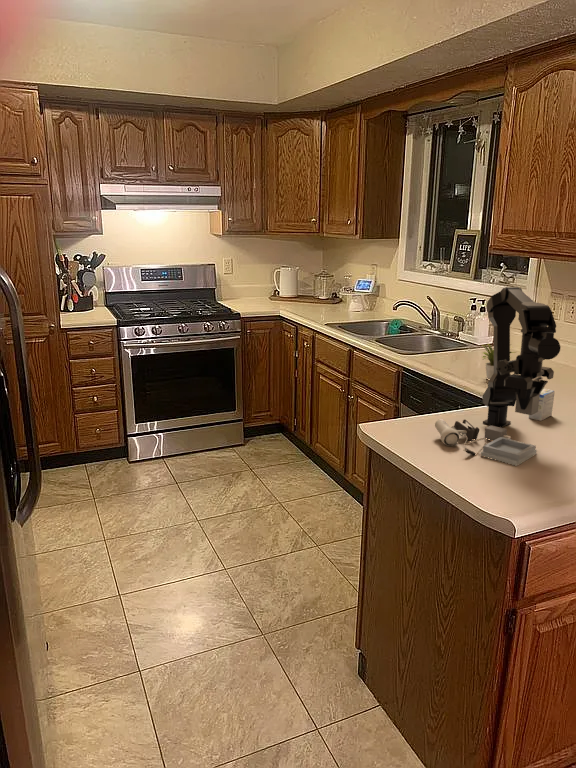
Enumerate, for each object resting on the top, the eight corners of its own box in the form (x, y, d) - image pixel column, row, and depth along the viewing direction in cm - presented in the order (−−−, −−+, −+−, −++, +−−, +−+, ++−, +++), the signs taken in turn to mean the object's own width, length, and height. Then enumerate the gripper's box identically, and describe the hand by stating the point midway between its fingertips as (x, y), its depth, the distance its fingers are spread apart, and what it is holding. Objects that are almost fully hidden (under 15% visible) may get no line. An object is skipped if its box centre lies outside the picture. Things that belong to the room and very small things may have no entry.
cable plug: (490, 436, 179) (491, 425, 178) (512, 442, 174) (513, 430, 173) (484, 439, 176) (485, 428, 175) (506, 445, 172) (507, 433, 171)
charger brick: (522, 408, 170) (523, 389, 168) (537, 411, 167) (539, 392, 165) (515, 412, 167) (516, 392, 165) (531, 415, 163) (533, 395, 162)
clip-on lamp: (492, 464, 166) (464, 429, 181) (499, 444, 163) (470, 411, 179) (453, 463, 163) (428, 428, 179) (459, 444, 161) (433, 410, 176)
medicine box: (538, 413, 200) (541, 387, 198) (552, 415, 197) (555, 390, 195) (528, 418, 195) (530, 392, 193) (541, 421, 192) (544, 395, 190)
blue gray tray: (501, 444, 171) (502, 435, 171) (536, 453, 165) (537, 444, 164) (480, 456, 163) (481, 446, 163) (516, 466, 156) (517, 456, 156)
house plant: (490, 385, 234) (493, 344, 229) (466, 377, 246) (469, 338, 242) (518, 381, 239) (522, 341, 235) (493, 374, 251) (496, 335, 247)
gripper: (517, 343, 174) (513, 395, 178) (487, 353, 161) (483, 409, 165) (557, 348, 167) (551, 402, 171) (528, 358, 154) (523, 417, 158)
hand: (526, 407), depth 166 cm, fingers closed on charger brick, 4 cm apart
